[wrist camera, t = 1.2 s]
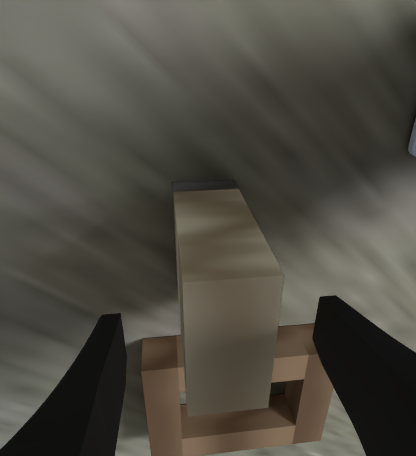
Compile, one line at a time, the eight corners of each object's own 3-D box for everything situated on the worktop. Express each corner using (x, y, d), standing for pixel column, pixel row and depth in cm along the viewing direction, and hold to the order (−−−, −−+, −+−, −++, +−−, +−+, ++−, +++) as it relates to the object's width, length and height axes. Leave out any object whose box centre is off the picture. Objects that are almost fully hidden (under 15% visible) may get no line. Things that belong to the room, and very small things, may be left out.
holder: (325, 322, 23) (342, 351, 21) (307, 408, 27) (320, 440, 25) (142, 338, 22) (141, 371, 20) (152, 426, 26) (152, 461, 23)
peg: (234, 179, 18) (284, 275, 11) (230, 279, 20) (268, 407, 13) (172, 182, 17) (182, 282, 10) (177, 283, 20) (187, 416, 13)
